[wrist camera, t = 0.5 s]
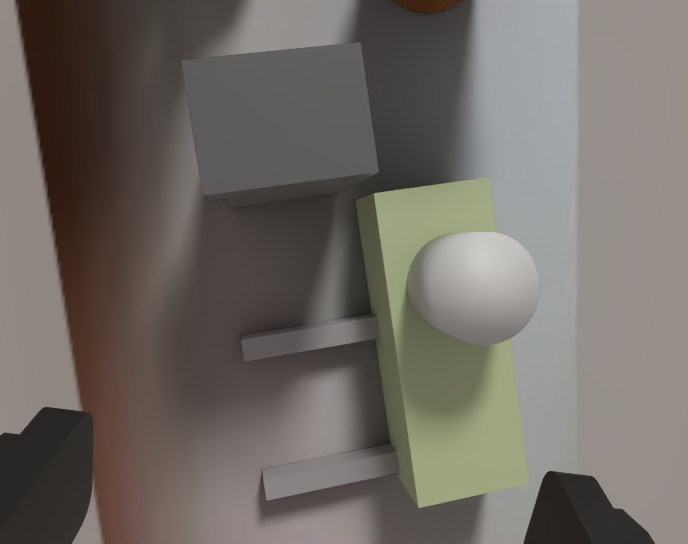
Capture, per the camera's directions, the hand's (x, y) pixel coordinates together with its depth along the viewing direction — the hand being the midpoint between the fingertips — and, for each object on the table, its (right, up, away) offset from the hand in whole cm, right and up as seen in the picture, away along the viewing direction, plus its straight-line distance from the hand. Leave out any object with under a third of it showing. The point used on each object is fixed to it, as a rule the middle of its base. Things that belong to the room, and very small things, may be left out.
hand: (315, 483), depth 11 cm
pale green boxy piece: (+2, 0, +25) cm, 25 cm away
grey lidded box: (-3, +10, +24) cm, 26 cm away
